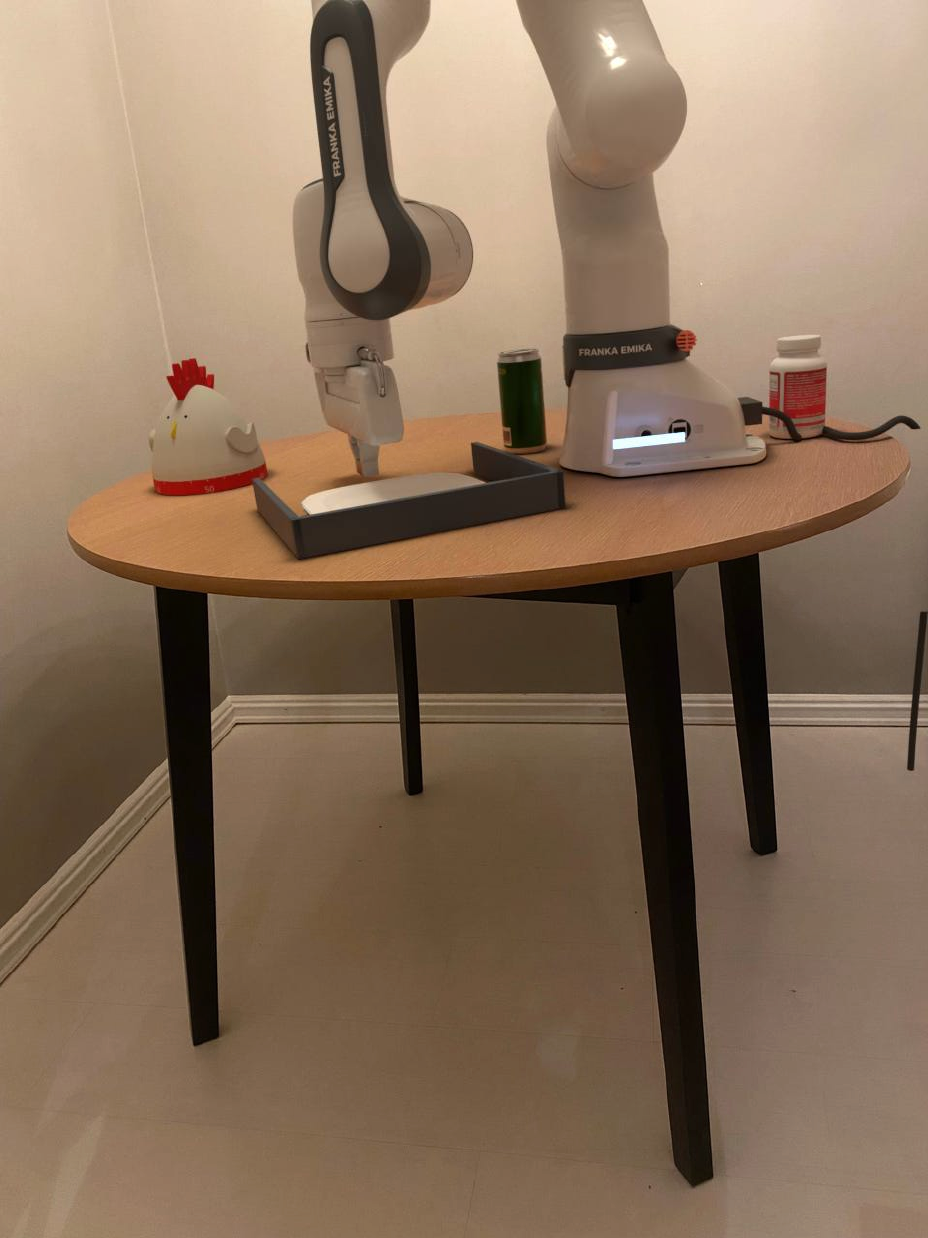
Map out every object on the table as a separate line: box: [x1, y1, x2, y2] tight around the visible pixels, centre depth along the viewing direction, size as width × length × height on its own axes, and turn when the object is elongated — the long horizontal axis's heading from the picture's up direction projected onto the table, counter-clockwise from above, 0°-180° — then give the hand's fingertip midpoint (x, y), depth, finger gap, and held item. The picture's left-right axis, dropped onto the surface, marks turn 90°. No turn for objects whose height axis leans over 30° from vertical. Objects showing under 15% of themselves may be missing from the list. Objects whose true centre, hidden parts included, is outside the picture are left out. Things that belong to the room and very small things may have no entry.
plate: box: [300, 471, 486, 515], centre depth 93 cm, size 18×18×2 cm
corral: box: [252, 441, 567, 560], centre depth 93 cm, size 22×26×4 cm
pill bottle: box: [768, 334, 828, 440], centre depth 108 cm, size 6×6×11 cm
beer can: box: [496, 348, 548, 455], centre depth 115 cm, size 5×5×12 cm
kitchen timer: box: [148, 357, 269, 496], centre depth 115 cm, size 14×14×15 cm
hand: (368, 475), depth 104 cm, fingers closed
